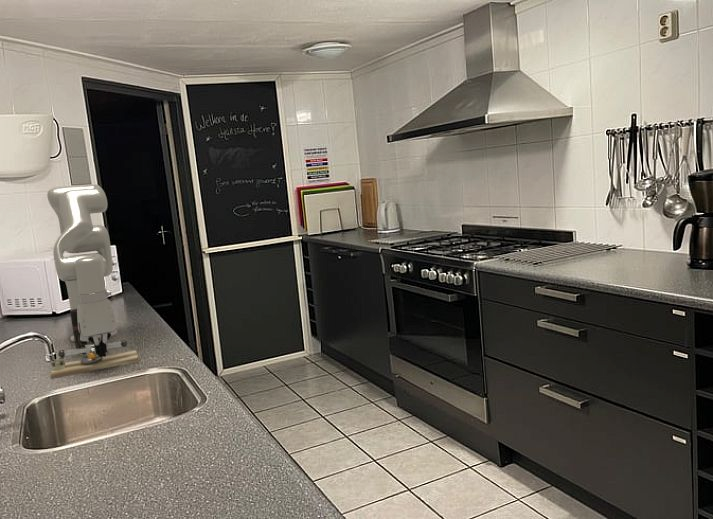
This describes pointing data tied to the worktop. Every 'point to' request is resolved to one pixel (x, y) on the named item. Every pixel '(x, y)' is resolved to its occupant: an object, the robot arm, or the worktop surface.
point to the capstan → (90, 351)
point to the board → (91, 364)
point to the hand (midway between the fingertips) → (102, 355)
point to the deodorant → (77, 331)
